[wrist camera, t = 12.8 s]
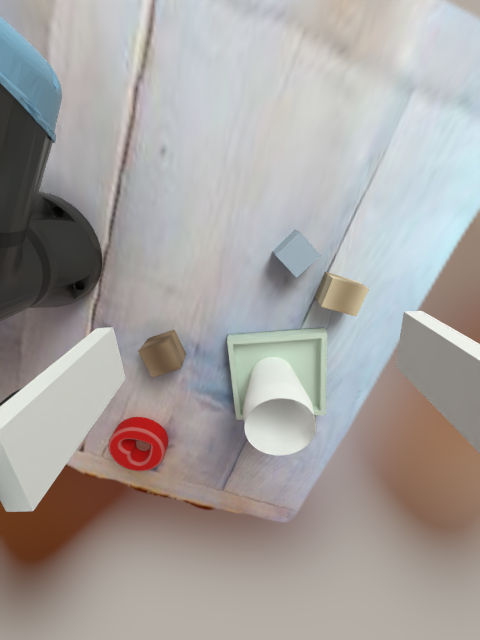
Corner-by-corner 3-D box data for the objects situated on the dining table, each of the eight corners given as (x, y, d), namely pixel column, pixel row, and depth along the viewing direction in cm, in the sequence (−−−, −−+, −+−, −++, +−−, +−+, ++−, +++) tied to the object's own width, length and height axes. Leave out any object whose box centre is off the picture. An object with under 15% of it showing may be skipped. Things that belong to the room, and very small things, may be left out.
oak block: (314, 298, 42) (321, 306, 38) (325, 271, 40) (332, 278, 37) (346, 307, 42) (356, 316, 38) (357, 281, 41) (369, 288, 37)
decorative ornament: (179, 436, 52) (175, 449, 49) (148, 465, 54) (143, 480, 51) (134, 406, 50) (127, 419, 47) (105, 439, 52) (97, 452, 49)
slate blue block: (291, 271, 40) (296, 277, 37) (272, 251, 39) (275, 255, 36) (313, 251, 39) (321, 255, 36) (294, 229, 38) (300, 231, 35)
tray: (236, 411, 49) (236, 419, 47) (227, 334, 44) (227, 340, 42) (322, 406, 48) (325, 414, 46) (323, 327, 43) (327, 332, 41)
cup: (303, 394, 47) (320, 452, 36) (248, 401, 48) (249, 460, 36) (297, 345, 44) (314, 392, 33) (239, 354, 44) (236, 402, 33)
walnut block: (160, 362, 46) (152, 377, 42) (148, 338, 45) (138, 351, 40) (186, 354, 45) (180, 368, 41) (174, 329, 44) (167, 342, 40)
